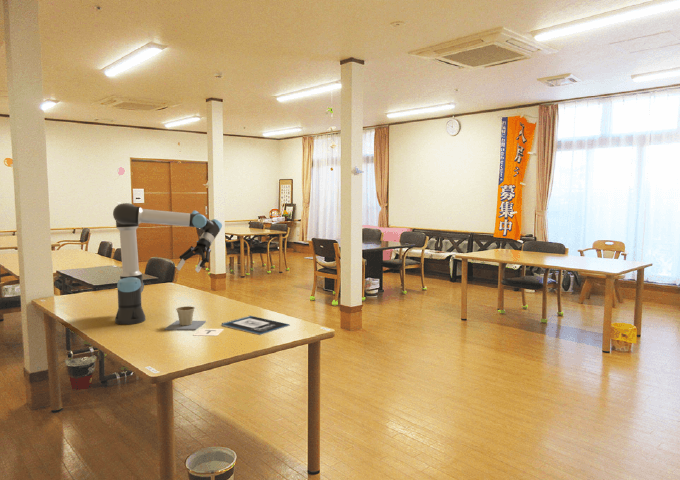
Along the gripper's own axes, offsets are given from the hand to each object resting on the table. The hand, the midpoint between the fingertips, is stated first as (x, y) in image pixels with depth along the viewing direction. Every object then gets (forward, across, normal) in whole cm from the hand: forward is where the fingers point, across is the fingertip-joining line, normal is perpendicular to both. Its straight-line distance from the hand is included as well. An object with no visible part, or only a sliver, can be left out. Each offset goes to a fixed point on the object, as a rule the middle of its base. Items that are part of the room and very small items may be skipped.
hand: (187, 270), depth 256 cm
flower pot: (+28, -11, -10) cm, 32 cm away
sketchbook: (+17, -44, -22) cm, 52 cm away
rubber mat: (+29, -11, -10) cm, 32 cm away
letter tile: (+31, -30, -7) cm, 44 cm away
